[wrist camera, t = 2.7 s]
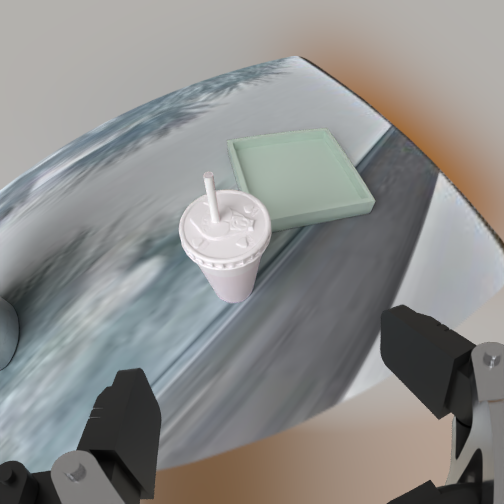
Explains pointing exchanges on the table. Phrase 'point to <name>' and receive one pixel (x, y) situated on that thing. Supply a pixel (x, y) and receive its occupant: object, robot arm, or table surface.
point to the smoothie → (226, 238)
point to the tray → (299, 177)
